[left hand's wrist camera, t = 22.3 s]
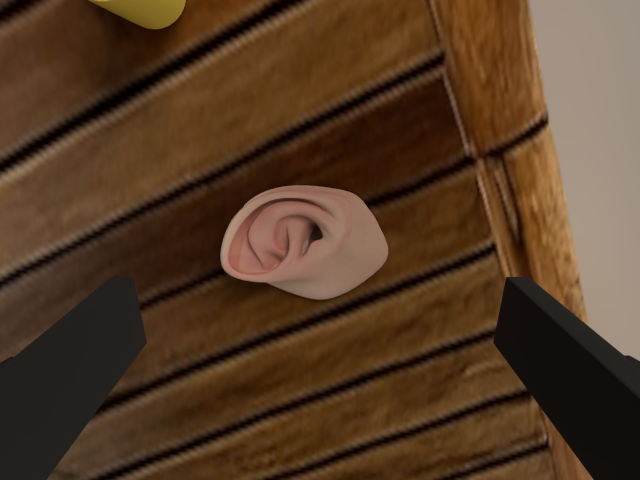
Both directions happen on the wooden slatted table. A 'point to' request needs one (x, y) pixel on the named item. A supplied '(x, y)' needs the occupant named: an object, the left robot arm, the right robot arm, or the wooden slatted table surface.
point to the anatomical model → (304, 241)
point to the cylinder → (145, 11)
